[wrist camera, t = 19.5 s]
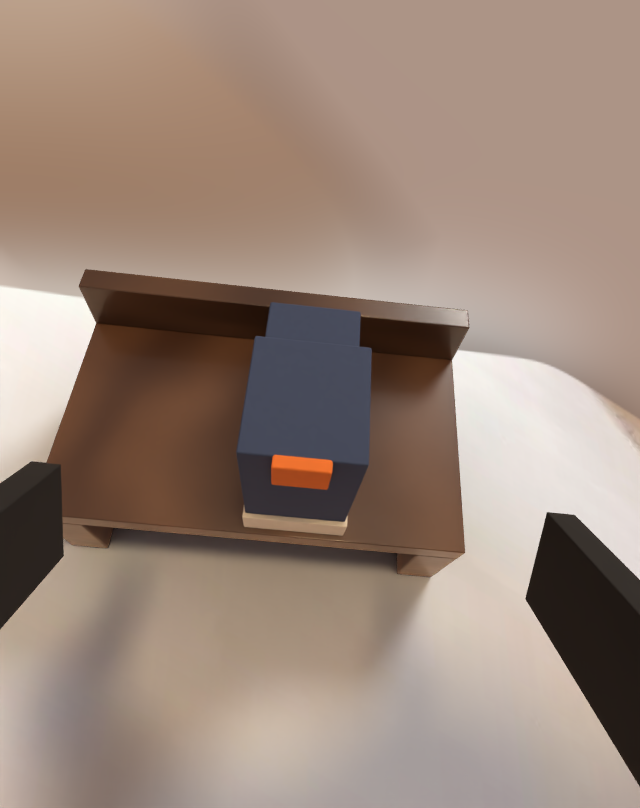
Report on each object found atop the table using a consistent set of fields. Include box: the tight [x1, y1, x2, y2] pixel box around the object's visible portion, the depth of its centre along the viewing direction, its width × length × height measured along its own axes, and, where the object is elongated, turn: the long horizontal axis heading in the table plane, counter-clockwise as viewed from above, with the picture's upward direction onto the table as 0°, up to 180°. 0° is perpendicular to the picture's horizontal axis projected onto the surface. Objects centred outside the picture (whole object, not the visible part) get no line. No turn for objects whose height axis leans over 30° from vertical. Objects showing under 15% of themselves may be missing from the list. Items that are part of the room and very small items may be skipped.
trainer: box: [236, 302, 372, 536], centre depth 23 cm, size 10×5×8 cm, turn 176°
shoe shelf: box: [47, 269, 469, 577], centre depth 28 cm, size 20×12×9 cm, turn 86°
